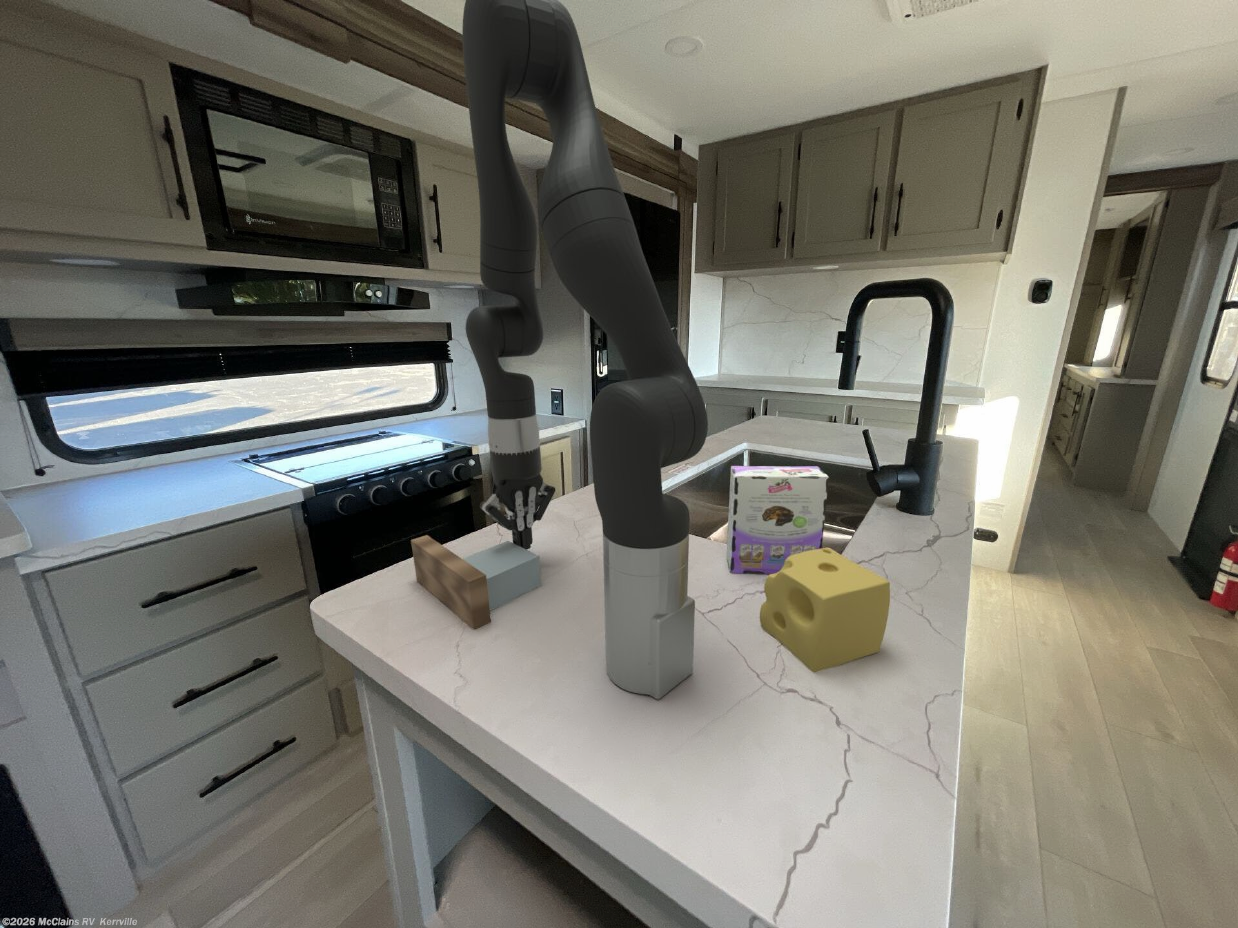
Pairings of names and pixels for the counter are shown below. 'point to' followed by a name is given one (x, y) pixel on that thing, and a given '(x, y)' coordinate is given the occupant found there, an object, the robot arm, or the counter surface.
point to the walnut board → (452, 581)
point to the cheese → (826, 608)
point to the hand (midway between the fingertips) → (523, 548)
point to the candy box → (774, 515)
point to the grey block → (507, 571)
